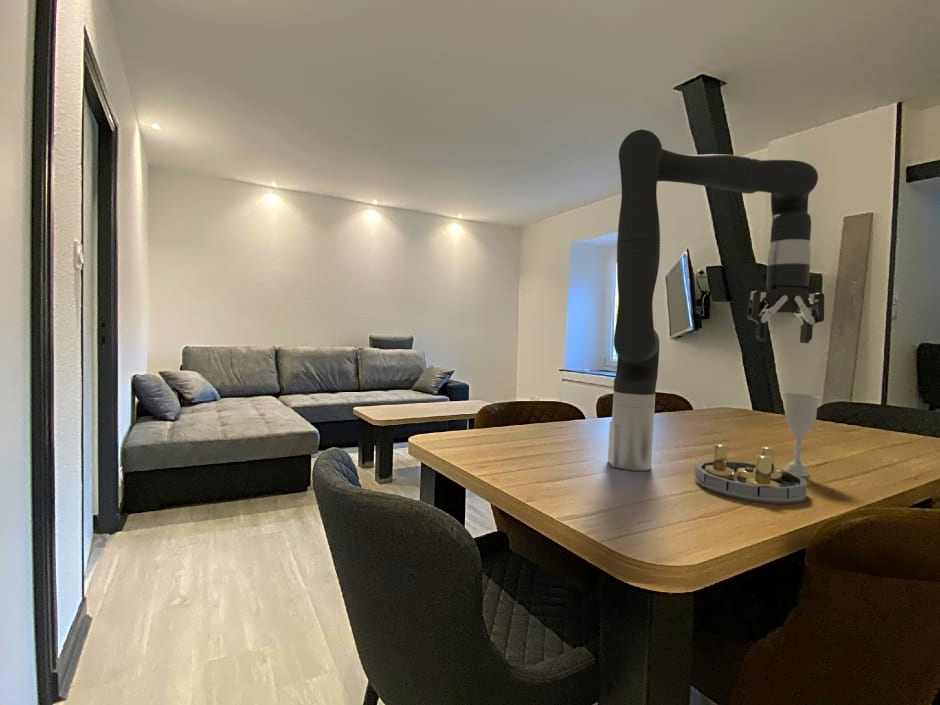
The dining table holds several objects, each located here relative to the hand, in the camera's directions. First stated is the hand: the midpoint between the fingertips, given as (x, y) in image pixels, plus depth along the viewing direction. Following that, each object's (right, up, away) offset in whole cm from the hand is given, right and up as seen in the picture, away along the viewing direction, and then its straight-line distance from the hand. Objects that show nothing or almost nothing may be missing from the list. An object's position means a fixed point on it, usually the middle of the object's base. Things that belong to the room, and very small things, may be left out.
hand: (783, 342), depth 106 cm
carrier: (-8, -30, -2) cm, 31 cm away
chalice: (+10, -30, +11) cm, 33 cm away
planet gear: (-9, -29, -7) cm, 31 cm away
